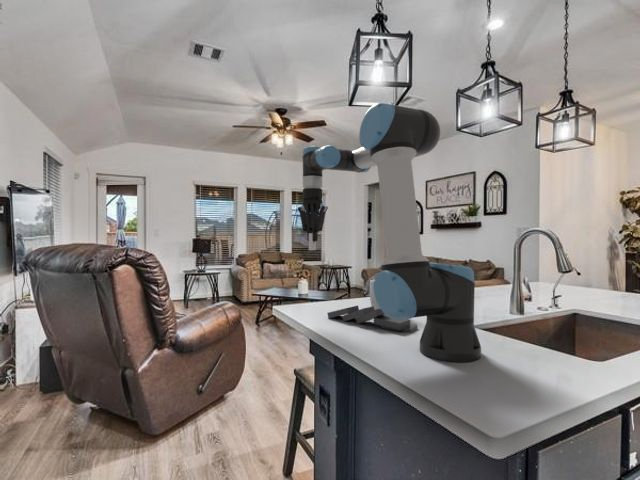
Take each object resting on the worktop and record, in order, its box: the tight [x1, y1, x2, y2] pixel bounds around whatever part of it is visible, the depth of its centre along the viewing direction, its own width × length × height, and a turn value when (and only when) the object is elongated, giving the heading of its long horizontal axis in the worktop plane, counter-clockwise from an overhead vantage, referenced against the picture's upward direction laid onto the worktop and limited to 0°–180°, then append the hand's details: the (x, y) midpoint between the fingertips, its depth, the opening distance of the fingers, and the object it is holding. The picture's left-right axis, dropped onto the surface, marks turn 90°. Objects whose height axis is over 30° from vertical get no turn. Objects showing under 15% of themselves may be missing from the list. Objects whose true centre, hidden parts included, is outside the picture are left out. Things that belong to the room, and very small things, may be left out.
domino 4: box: [373, 315, 411, 330], centre depth 119 cm, size 2×6×10 cm
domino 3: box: [355, 309, 384, 325], centre depth 123 cm, size 2×6×10 cm
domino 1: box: [327, 305, 360, 319], centre depth 132 cm, size 2×6×10 cm
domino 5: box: [380, 323, 418, 334], centre depth 119 cm, size 2×6×10 cm
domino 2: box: [341, 305, 375, 322], centre depth 128 cm, size 2×6×10 cm
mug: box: [369, 278, 386, 315], centre depth 136 cm, size 15×11×13 cm
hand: (312, 250), depth 140 cm, fingers closed
